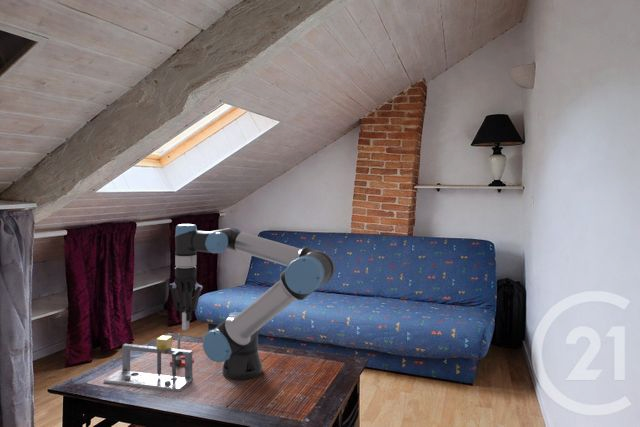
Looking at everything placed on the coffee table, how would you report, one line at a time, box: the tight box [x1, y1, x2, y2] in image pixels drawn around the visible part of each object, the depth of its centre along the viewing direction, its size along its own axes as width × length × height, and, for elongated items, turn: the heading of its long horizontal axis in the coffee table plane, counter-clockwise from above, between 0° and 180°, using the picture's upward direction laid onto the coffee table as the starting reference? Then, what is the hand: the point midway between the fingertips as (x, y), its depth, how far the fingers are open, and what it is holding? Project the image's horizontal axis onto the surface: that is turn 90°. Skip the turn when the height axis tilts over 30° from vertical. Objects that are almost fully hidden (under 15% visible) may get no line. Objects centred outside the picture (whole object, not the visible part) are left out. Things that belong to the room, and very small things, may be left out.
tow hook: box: [169, 333, 195, 367], centre depth 189 cm, size 8×13×9 cm
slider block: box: [155, 335, 173, 376], centre depth 174 cm, size 4×6×13 cm, turn 168°
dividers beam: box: [121, 343, 193, 379], centre depth 175 cm, size 28×5×10 cm, turn 78°
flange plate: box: [103, 369, 193, 393], centre depth 170 cm, size 30×9×2 cm, turn 78°
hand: (185, 329), depth 173 cm, fingers closed
